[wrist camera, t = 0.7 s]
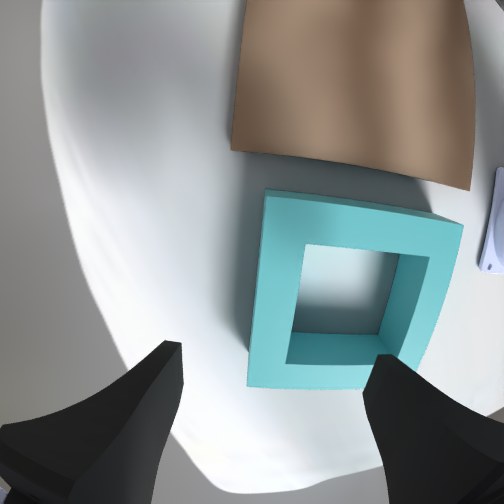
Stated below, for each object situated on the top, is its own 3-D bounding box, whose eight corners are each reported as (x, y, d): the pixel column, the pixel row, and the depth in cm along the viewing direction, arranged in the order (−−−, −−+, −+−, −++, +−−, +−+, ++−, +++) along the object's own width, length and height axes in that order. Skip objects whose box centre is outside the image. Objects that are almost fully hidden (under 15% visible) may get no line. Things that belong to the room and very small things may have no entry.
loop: (433, 213, 16) (463, 225, 13) (392, 356, 20) (409, 385, 16) (265, 188, 16) (266, 196, 13) (248, 352, 20) (246, 386, 16)
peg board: (447, -28, 10) (481, -55, 5) (459, 188, 16) (516, 203, 10) (260, -78, 10) (259, -125, 5) (232, 150, 16) (218, 145, 10)
